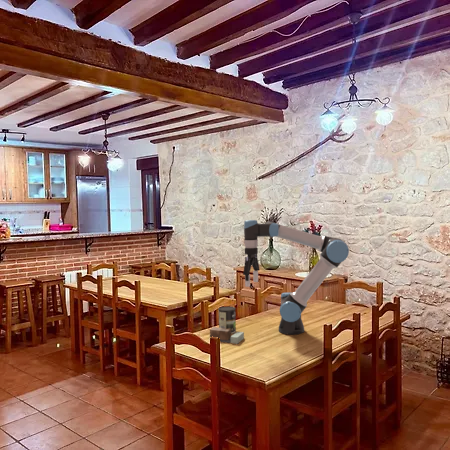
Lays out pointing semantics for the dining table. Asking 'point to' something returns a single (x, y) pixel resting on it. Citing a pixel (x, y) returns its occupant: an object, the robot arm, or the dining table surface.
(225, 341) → the rubber mat
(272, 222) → the robot arm
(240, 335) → the sage ledge
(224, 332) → the walnut block
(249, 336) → the dining table surface
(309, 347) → the dining table surface
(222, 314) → the coffee can
